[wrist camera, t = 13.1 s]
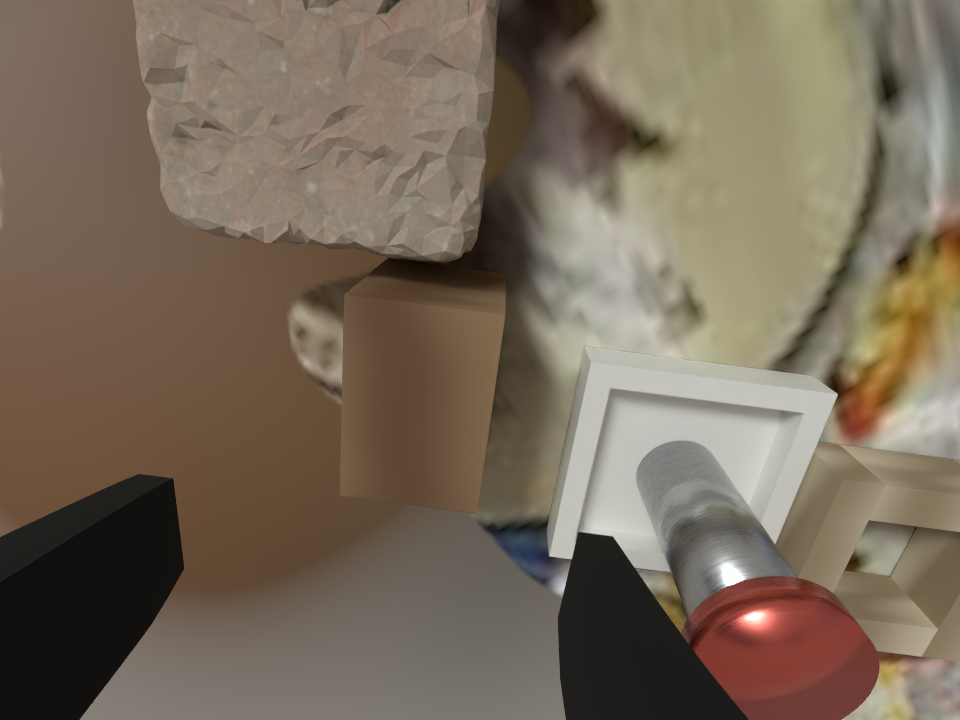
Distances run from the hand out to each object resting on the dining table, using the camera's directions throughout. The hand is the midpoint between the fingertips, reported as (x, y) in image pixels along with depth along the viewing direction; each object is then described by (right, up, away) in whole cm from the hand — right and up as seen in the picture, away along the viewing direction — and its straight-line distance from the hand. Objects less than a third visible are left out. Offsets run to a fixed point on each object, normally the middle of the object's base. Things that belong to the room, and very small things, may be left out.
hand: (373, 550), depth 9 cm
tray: (+9, 0, +10) cm, 14 cm away
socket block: (+17, -3, +11) cm, 20 cm away
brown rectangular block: (0, +4, +9) cm, 10 cm away
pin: (+9, -1, +10) cm, 14 cm away
